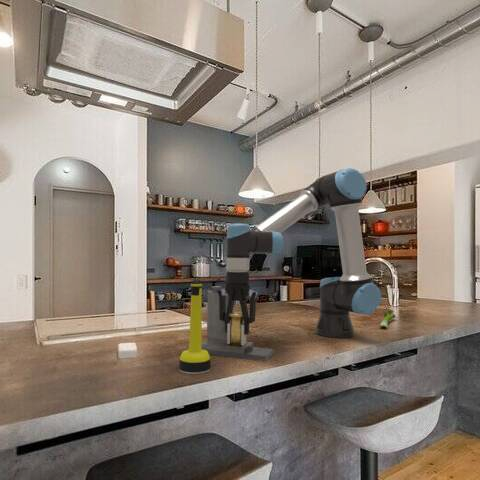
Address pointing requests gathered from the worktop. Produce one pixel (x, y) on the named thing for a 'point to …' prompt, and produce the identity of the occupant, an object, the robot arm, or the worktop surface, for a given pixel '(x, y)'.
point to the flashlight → (195, 337)
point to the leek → (387, 318)
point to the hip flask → (215, 315)
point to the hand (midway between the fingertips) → (236, 343)
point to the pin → (236, 328)
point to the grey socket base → (236, 350)
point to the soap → (127, 350)
